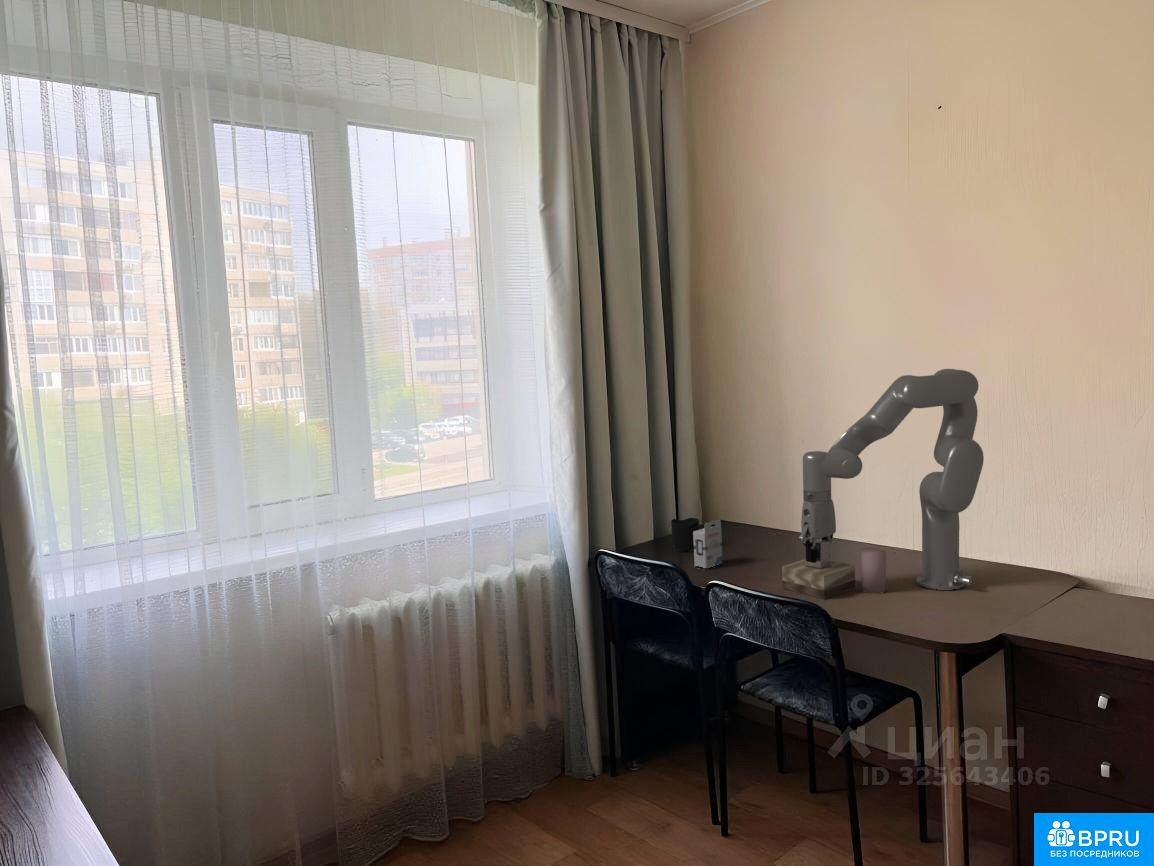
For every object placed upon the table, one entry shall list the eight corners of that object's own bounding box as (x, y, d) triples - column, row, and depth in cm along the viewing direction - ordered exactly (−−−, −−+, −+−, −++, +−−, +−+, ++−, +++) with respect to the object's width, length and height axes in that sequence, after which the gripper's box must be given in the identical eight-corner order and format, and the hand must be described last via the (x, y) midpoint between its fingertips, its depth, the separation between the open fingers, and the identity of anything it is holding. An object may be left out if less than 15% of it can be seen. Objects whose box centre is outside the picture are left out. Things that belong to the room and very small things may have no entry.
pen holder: (680, 544, 294) (679, 516, 293) (704, 547, 289) (703, 518, 288) (667, 551, 287) (665, 522, 285) (691, 554, 281) (690, 524, 280)
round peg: (890, 590, 233) (890, 551, 232) (877, 595, 230) (876, 555, 228) (869, 585, 239) (869, 547, 237) (856, 590, 235) (855, 551, 233)
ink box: (710, 561, 270) (709, 516, 269) (723, 564, 267) (721, 518, 265) (693, 567, 265) (692, 521, 263) (706, 570, 261) (704, 523, 259)
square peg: (830, 579, 237) (830, 541, 236) (820, 582, 234) (820, 543, 233) (817, 576, 241) (817, 538, 240) (807, 579, 238) (807, 540, 237)
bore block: (855, 588, 236) (854, 565, 236) (824, 599, 228) (823, 576, 227) (813, 578, 247) (813, 556, 247) (782, 588, 239) (782, 566, 238)
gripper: (809, 502, 227) (810, 568, 229) (847, 493, 237) (848, 556, 239) (786, 499, 233) (787, 563, 235) (824, 490, 243) (825, 551, 245)
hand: (818, 559), depth 237 cm, fingers open, 5 cm apart
